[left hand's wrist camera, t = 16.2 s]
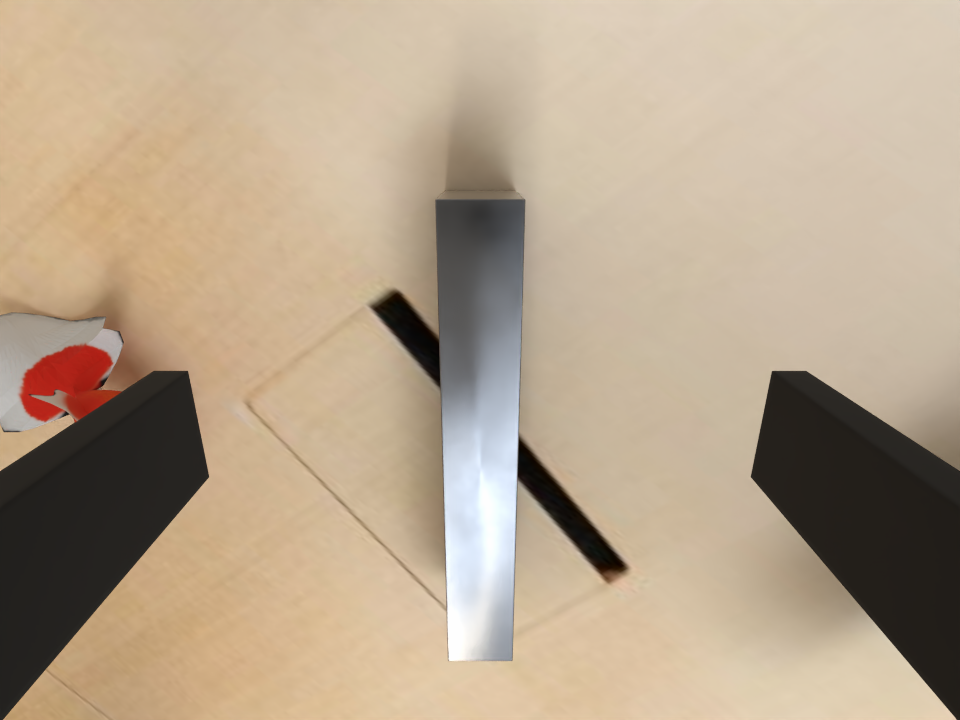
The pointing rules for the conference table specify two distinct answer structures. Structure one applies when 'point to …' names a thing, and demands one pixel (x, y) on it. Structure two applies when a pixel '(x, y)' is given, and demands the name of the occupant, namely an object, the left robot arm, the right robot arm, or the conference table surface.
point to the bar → (480, 412)
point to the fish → (53, 368)
